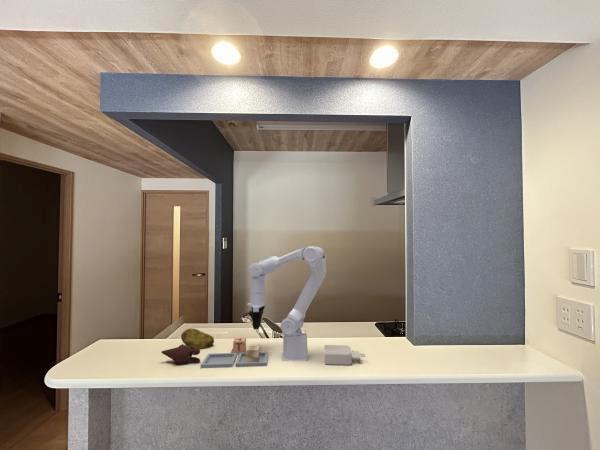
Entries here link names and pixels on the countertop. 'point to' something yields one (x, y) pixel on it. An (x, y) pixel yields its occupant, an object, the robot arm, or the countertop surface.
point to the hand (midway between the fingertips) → (257, 326)
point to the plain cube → (252, 354)
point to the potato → (197, 339)
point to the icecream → (182, 354)
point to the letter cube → (239, 345)
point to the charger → (340, 355)
